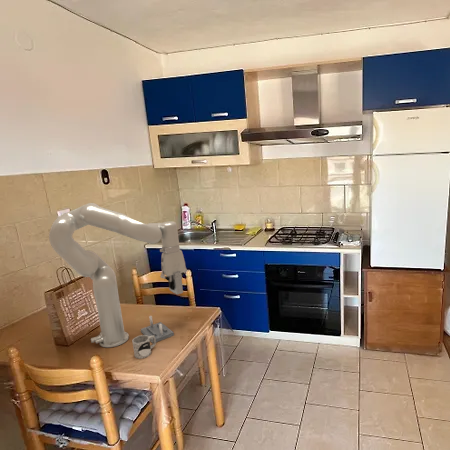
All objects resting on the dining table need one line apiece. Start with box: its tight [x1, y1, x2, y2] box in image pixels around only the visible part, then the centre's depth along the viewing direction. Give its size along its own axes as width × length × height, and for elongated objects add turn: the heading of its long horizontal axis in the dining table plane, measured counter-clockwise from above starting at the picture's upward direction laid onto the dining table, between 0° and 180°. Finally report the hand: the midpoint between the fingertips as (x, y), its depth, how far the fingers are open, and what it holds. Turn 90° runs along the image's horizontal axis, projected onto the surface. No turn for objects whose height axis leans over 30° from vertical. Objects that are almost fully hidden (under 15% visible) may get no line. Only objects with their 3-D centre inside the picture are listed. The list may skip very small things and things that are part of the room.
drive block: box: [168, 271, 184, 296], centre depth 166 cm, size 8×3×10 cm, turn 34°
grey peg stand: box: [140, 315, 175, 344], centre depth 163 cm, size 14×10×6 cm
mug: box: [131, 334, 157, 359], centre depth 148 cm, size 10×7×7 cm, turn 137°
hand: (175, 287), depth 167 cm, fingers closed on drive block, 3 cm apart
